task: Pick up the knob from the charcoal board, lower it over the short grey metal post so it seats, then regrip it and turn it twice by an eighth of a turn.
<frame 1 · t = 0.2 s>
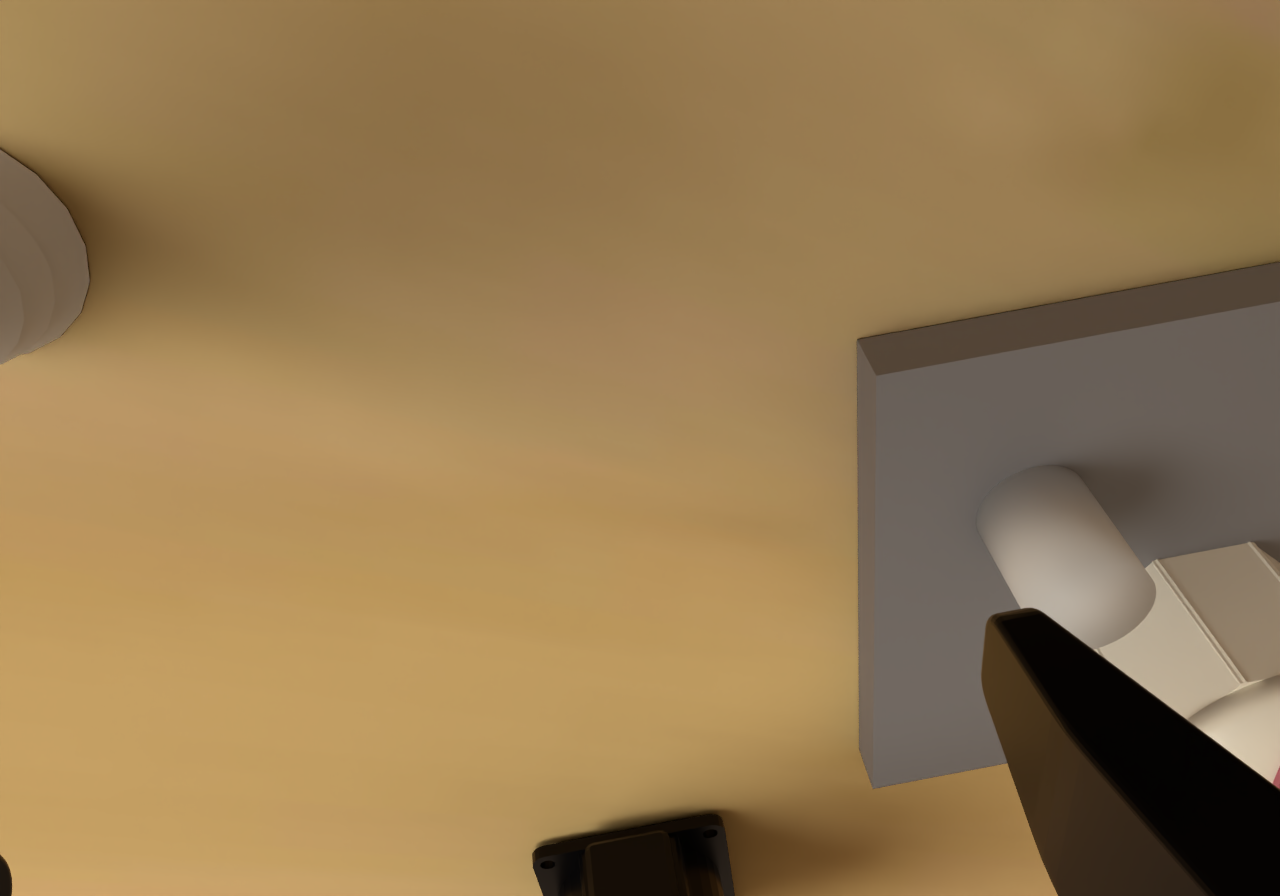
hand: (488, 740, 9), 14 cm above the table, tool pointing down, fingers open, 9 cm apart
knob: (1180, 630, 31), point 1 cm above the table, touching board
board: (1103, 532, 30), on the table
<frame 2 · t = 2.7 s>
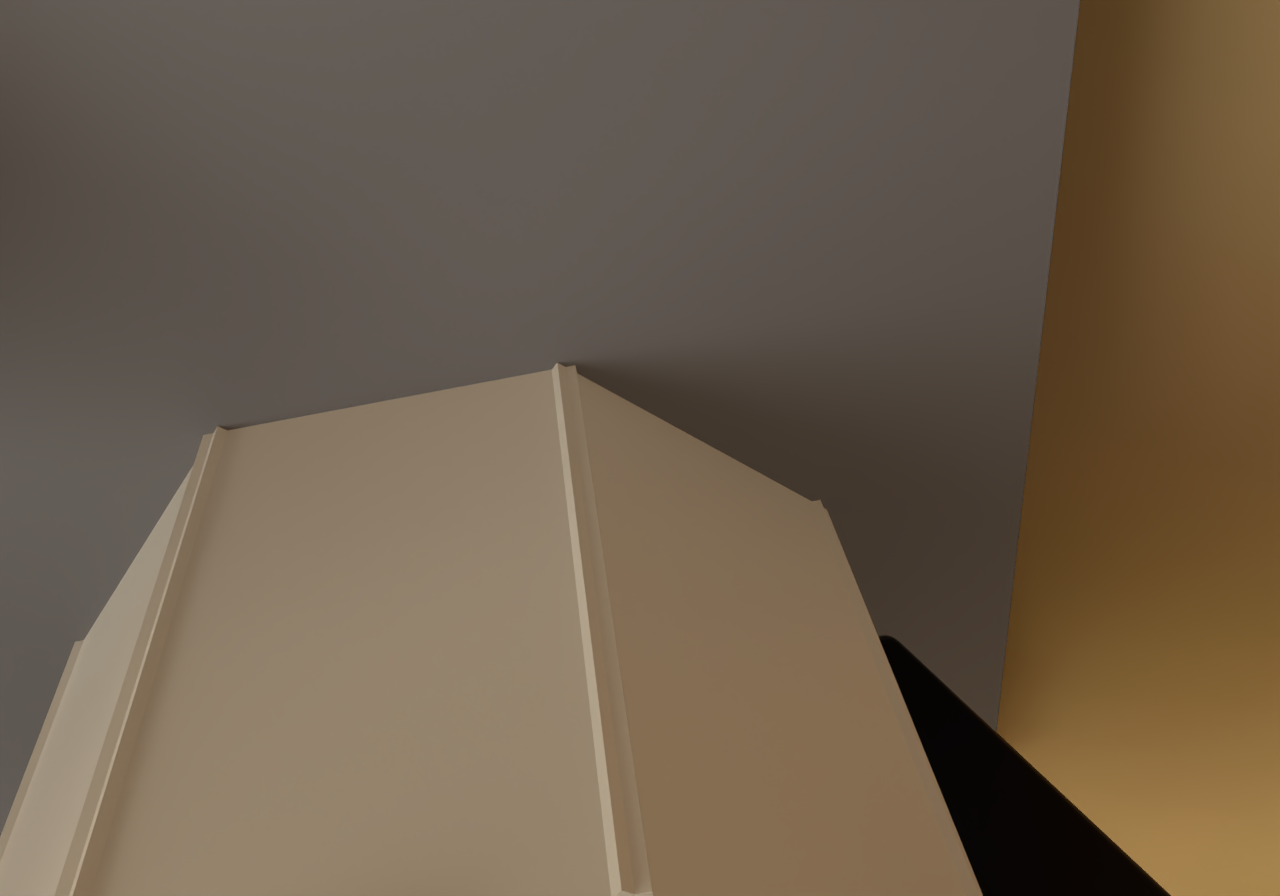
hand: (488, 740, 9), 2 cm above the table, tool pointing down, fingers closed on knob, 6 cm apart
knob: (486, 676, 10), point 2 cm above the table, touching board, gripper
board: (177, 361, 9), on the table
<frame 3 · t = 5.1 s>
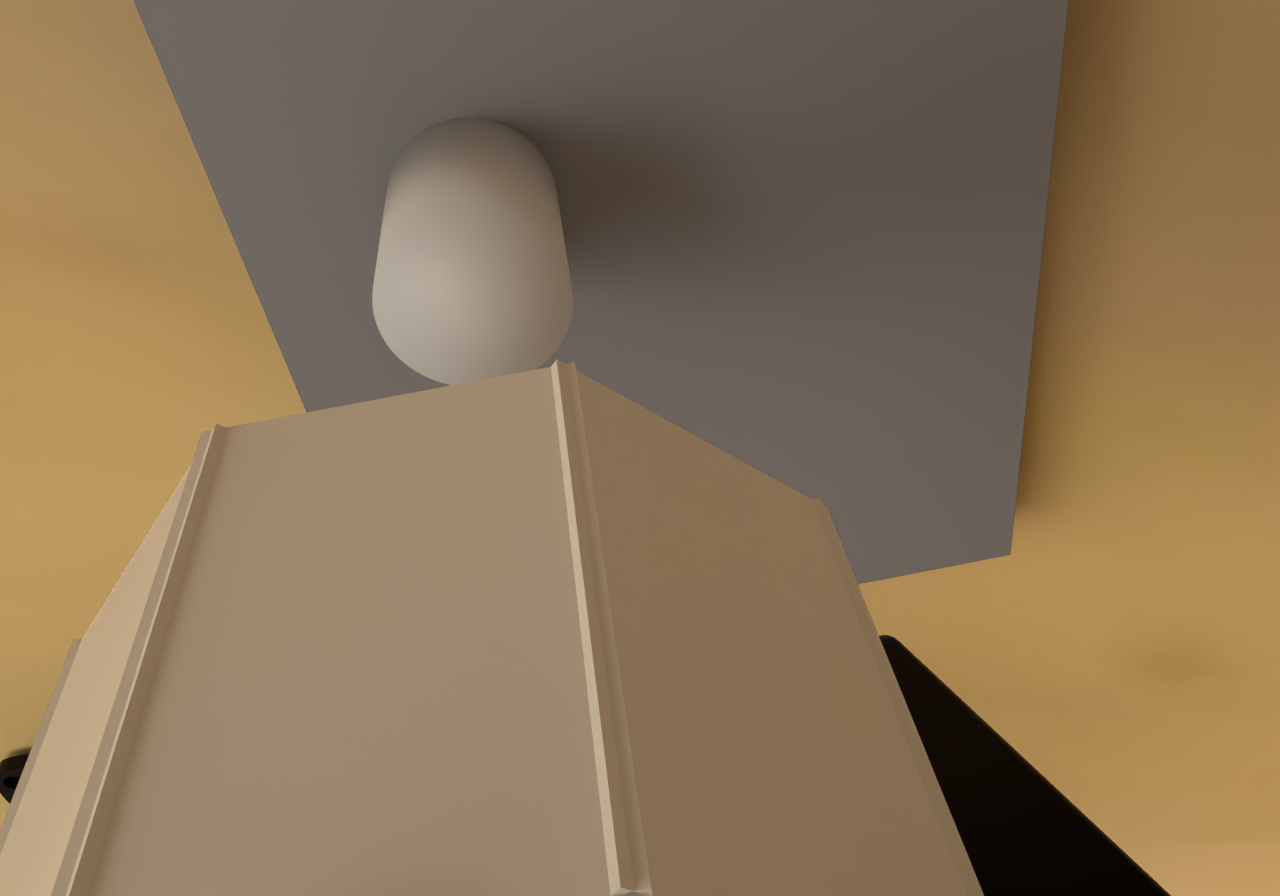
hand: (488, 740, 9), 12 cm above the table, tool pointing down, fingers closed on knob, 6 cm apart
knob: (486, 674, 10), point 12 cm above the table, touching gripper
board: (660, 279, 21), on the table
when the fingers open (3 cm above the table, at t = 7.7 s): knob stays where it is, resting on board.
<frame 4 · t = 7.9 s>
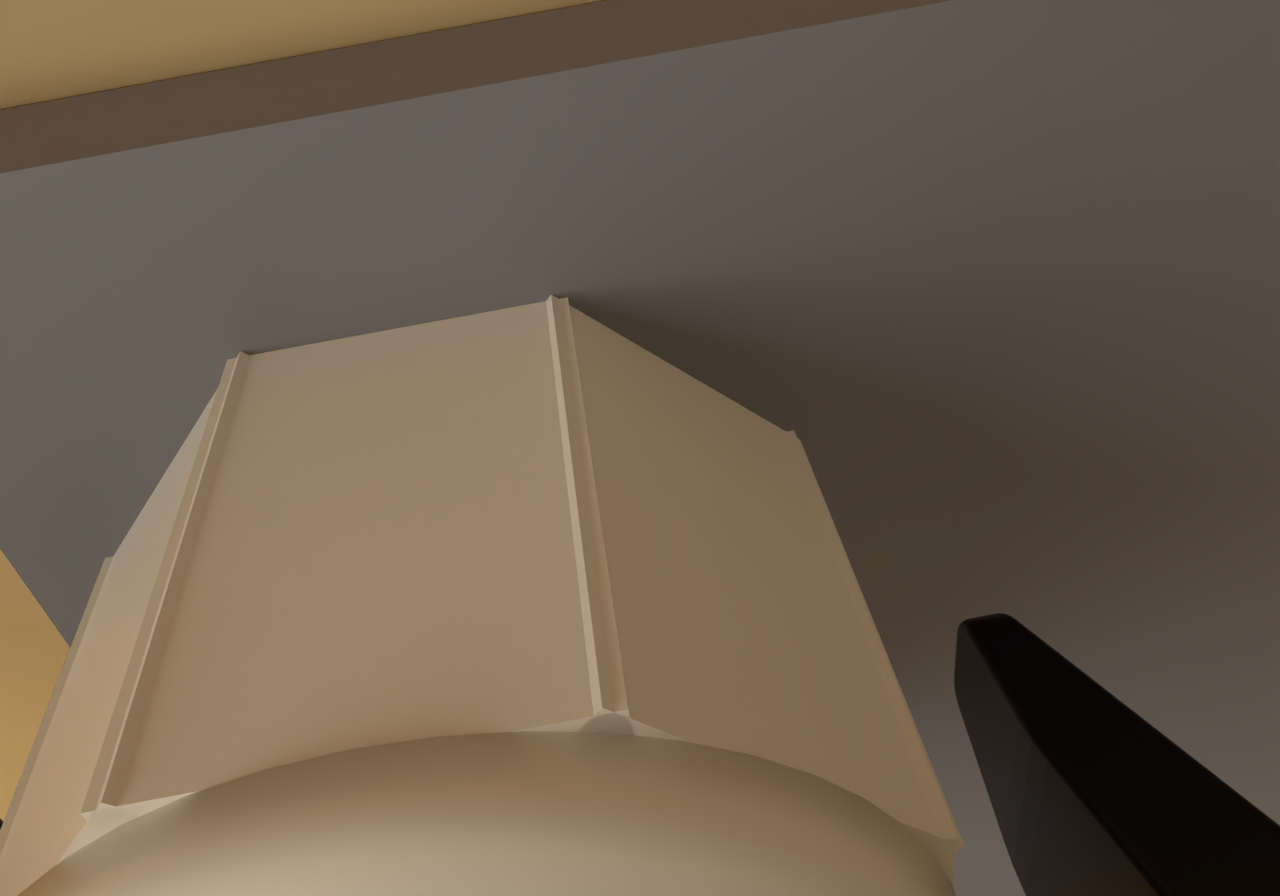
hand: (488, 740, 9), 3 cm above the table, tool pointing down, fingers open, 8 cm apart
knob: (485, 598, 11), point 1 cm above the table, touching board
board: (766, 630, 14), on the table
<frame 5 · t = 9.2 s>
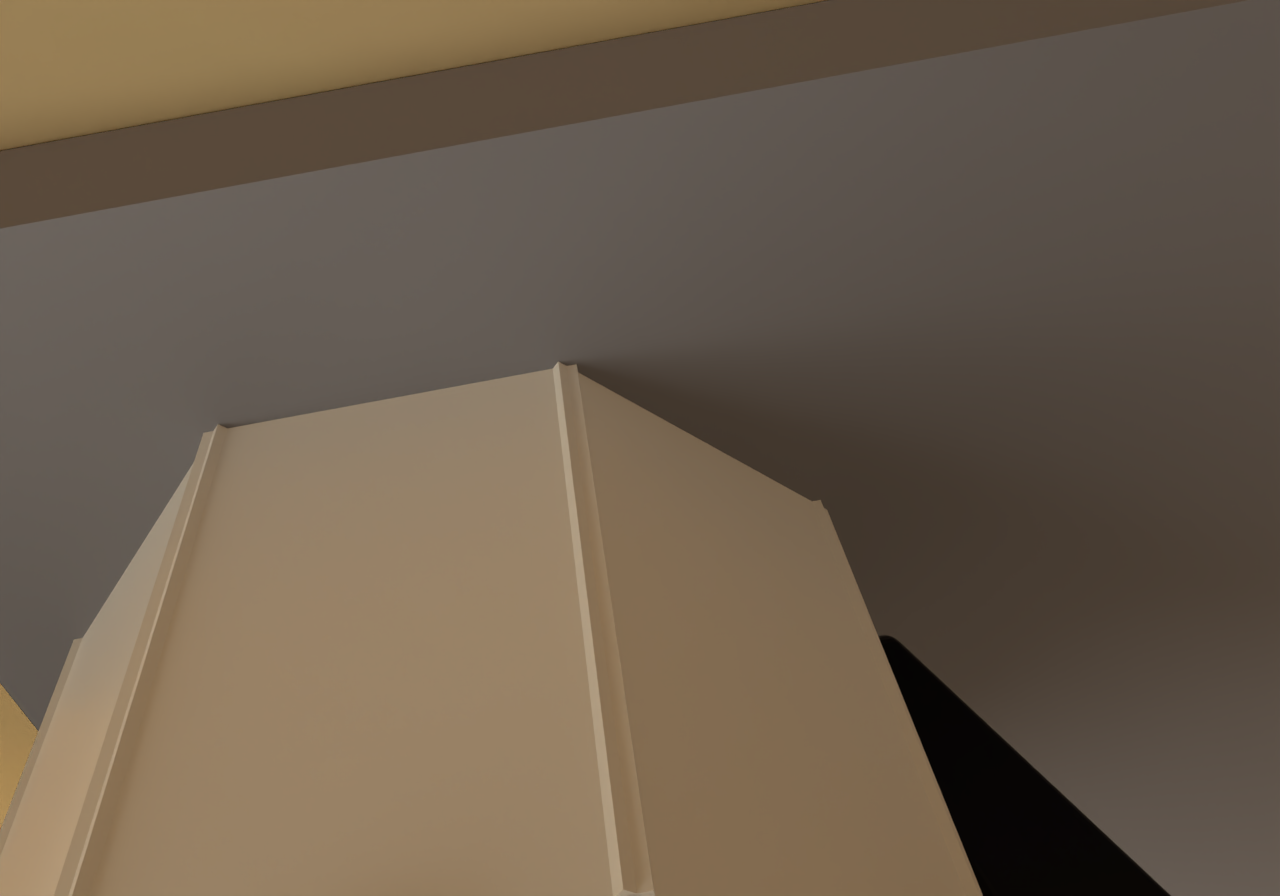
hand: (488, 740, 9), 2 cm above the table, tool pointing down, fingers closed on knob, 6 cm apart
knob: (486, 675, 10), point 1 cm above the table, touching board, gripper
board: (784, 691, 13), on the table
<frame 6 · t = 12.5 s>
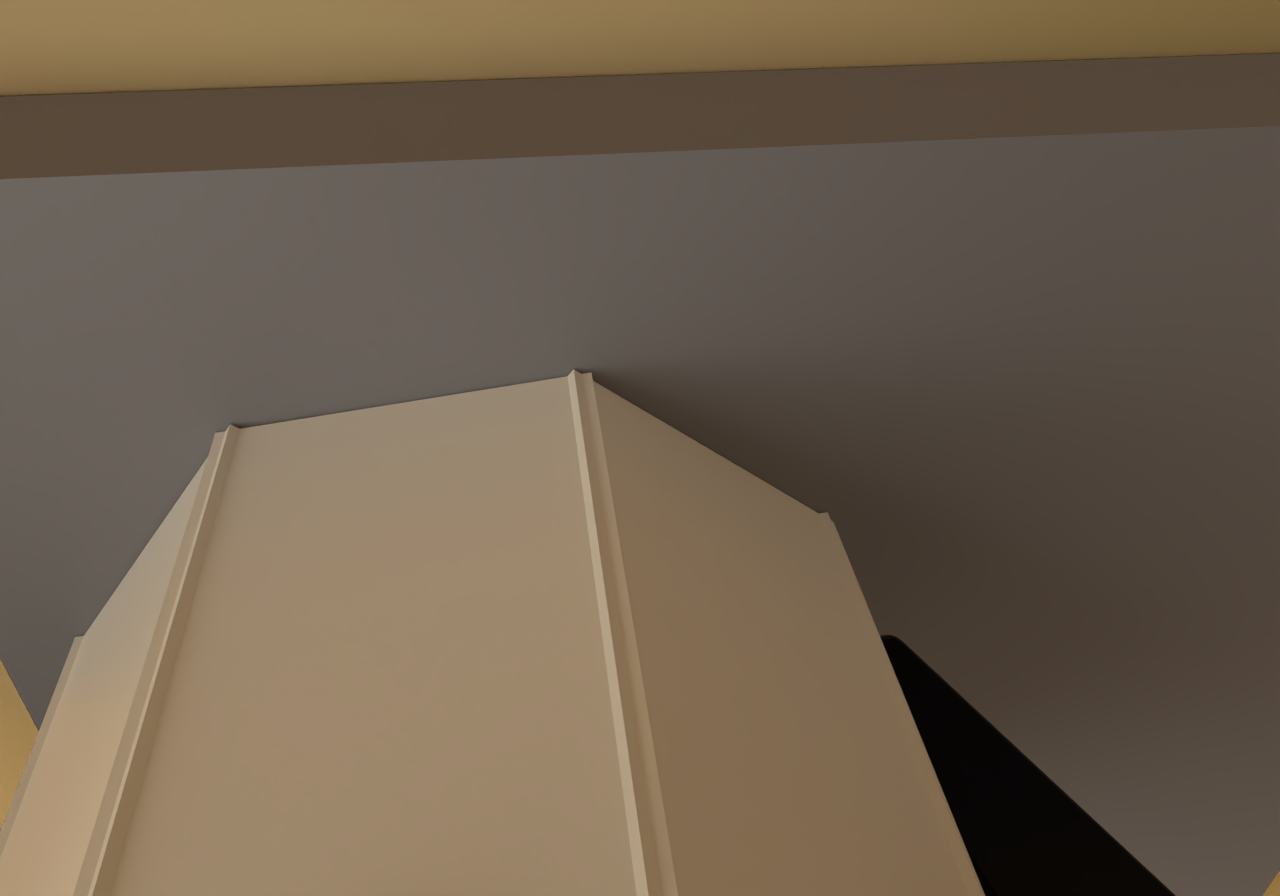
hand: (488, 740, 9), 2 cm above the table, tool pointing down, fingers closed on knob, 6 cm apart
knob: (487, 680, 10), point 2 cm above the table, touching gripper
board: (749, 721, 13), on the table
when the fingers open (2 cm above the table, at t = 13.2 s): knob stays where it is, resting on board.
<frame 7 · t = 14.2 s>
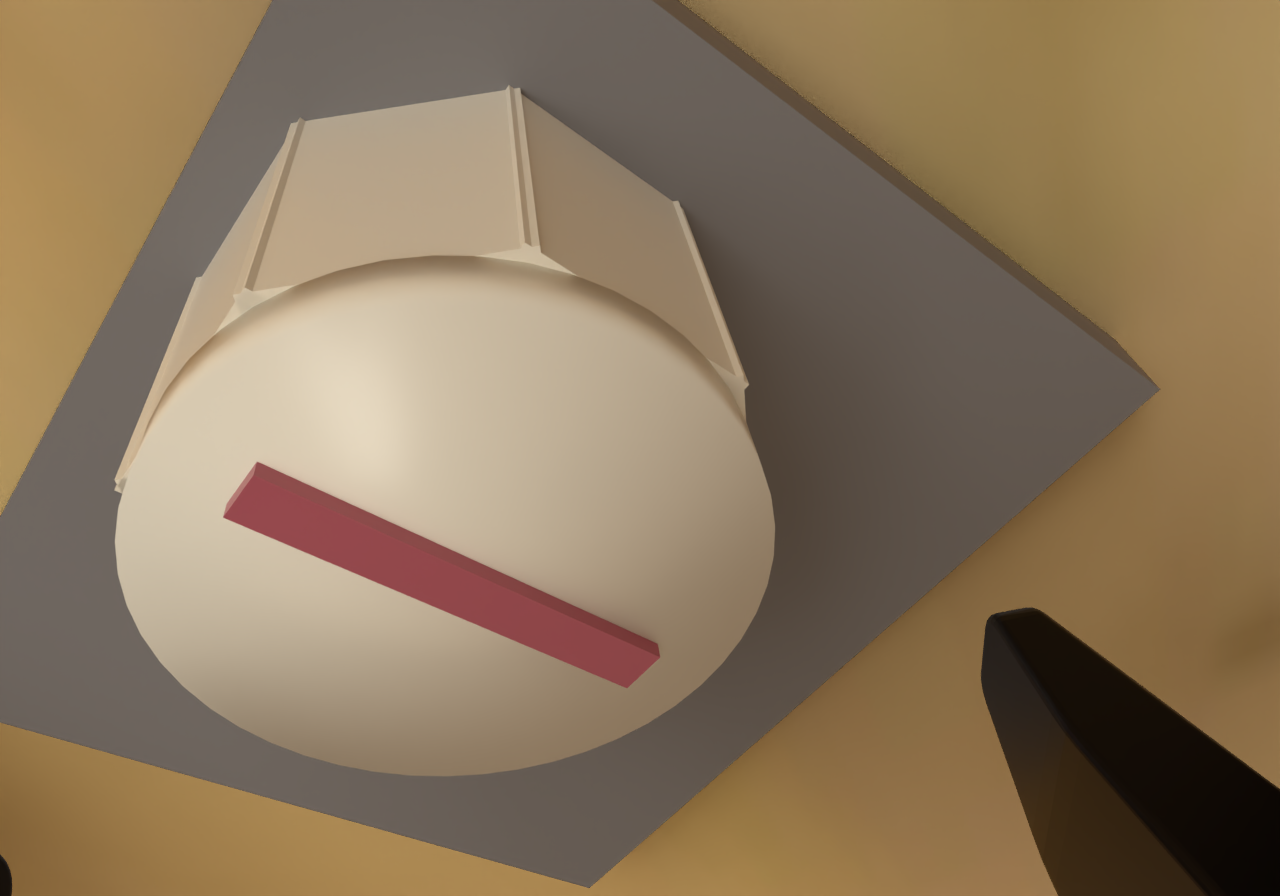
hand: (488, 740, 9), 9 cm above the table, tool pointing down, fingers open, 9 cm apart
knob: (461, 328, 15), point 1 cm above the table, touching board
board: (520, 486, 19), on the table
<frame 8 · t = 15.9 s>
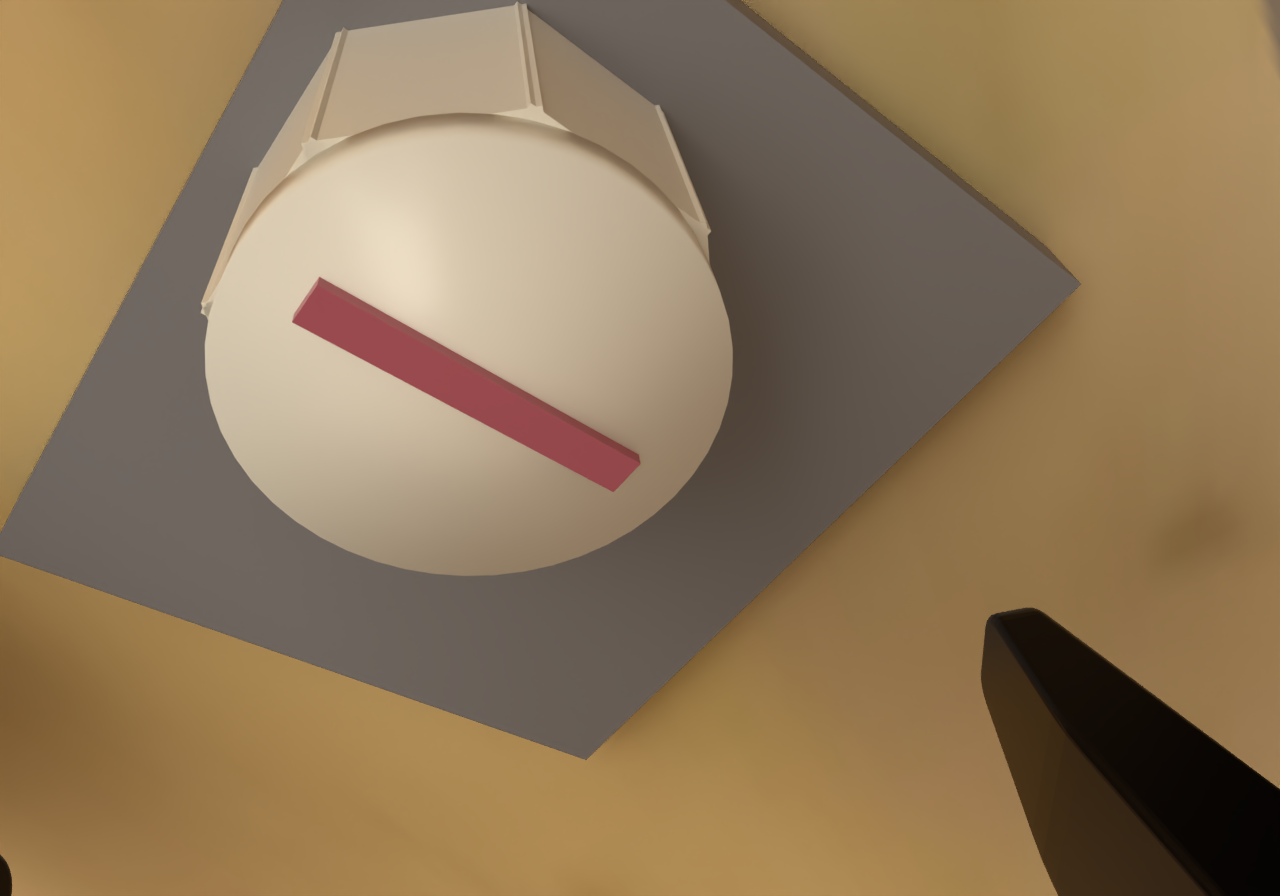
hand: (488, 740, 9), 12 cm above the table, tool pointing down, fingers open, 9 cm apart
knob: (475, 217, 18), point 1 cm above the table, touching board
board: (525, 376, 21), on the table
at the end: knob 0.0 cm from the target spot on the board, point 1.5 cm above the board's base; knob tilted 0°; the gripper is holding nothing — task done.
